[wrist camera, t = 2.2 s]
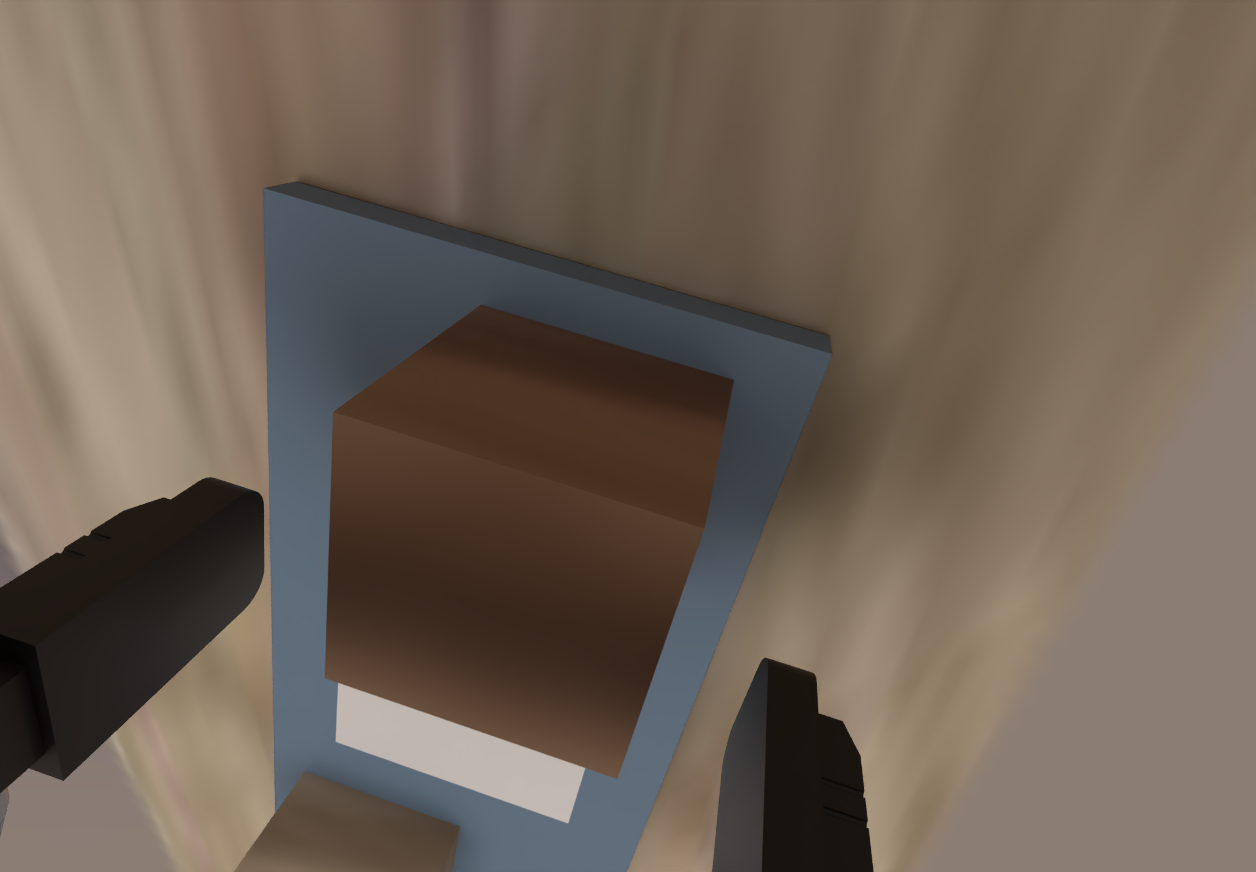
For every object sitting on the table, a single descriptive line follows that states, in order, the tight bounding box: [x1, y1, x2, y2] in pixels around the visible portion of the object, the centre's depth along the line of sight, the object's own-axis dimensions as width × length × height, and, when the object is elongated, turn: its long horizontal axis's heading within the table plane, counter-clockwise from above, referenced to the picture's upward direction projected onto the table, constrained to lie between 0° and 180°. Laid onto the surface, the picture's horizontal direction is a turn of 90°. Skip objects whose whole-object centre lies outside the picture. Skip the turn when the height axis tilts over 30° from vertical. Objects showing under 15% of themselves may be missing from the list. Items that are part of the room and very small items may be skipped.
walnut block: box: [325, 305, 734, 779], centre depth 12 cm, size 5×5×5 cm
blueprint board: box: [264, 182, 832, 872], centre depth 19 cm, size 23×11×1 cm, turn 167°
